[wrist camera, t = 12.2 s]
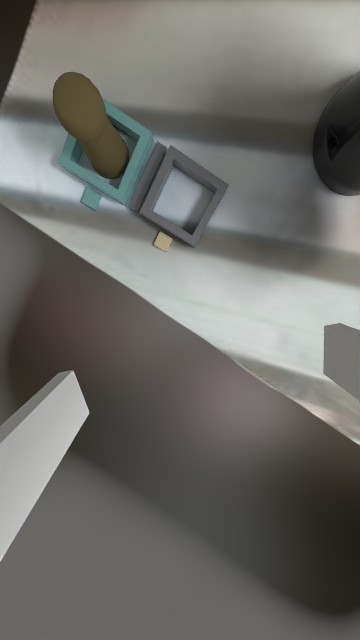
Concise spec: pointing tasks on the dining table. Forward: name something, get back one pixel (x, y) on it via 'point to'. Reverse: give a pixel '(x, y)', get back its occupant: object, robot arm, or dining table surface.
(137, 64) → the dining table surface
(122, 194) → the panel
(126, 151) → the cork
